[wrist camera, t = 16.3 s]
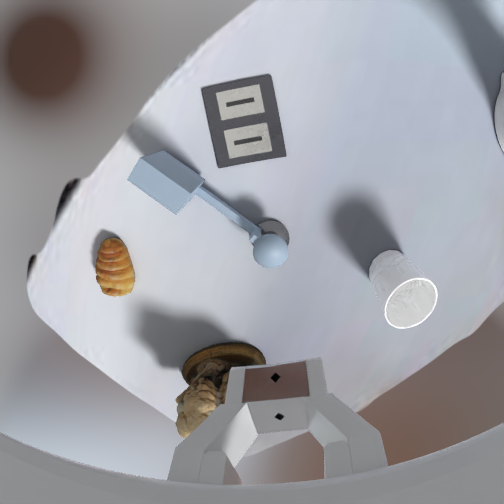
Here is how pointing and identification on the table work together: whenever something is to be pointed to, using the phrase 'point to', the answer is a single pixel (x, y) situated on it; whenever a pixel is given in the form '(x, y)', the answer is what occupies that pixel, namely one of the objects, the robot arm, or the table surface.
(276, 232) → the pivot post
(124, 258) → the pastry
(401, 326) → the white cup
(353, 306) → the table surface
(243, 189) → the table surface
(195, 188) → the swing arm
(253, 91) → the label panel
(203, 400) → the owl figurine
